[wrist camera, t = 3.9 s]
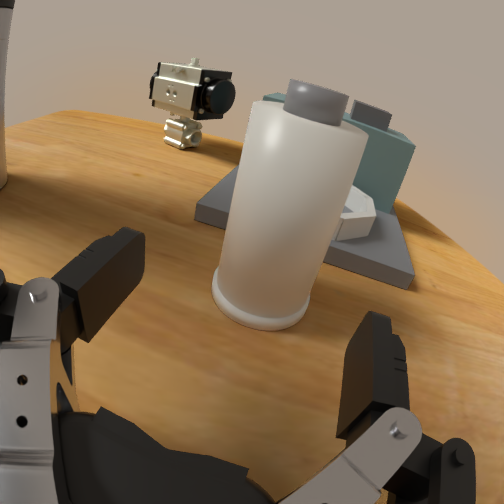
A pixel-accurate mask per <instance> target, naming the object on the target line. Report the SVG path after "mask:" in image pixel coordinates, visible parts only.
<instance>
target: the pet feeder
mask: <svg viewBox="0 0 504 504" xmlns="http://www.w3.org/2000/svg"><path fill="white" fill-rule="evenodd" d="M285 98H286V95H285V94H281V93H274V94H269V95H265V96H264V97H263V101H272V102H279V103H284V102H285ZM391 117H392V114H390V113H389V112H387V111H385V110H382V109H379V108H376V107H374V106H371V105H368V104H365V103H363V102H360V101H357V100H354V103H353V107H352V110H351V113H350V114H348V113H345V112H344V116H343V119H342V121H345V122H347V123H349V124H352V125H354V126H356V127H358V128H360V129H361V130H363V131H364V132H366V133H367V134H368V135H369V137H368V140H367V143H366V146H365V149H364V152H363V155H362V158H361V161H360V164H359V167H358V170H357V173H356V175H355V178H354V181H353V184H352V187H351V189H350V192H349V195H348V198H347V200H346V203H345V206H344V208H343V211H342V214H341V216H340V219H339V222H338V224H337V227H336V229H335V232H334V235H333V237H332V240H331V242H330V245H329V247H328V250H327V252H326V255H325V257H324V260H323V262H325V263H328V264H331V265H334V266H337V267H340V268H343V269H346V270H349V271H352V272H355V273H358V274H361V275H364V276H367V277H370V278H373V279H376V280H379V281H382V282H385V283H388V284H391V285H394V286H396V287H399V288H402V289H405V290H407V288H408V287H409V285H410V283H411V282H412V280H413V278H414V276H415V274H414V270H413V267H412V263H411V260H410V256H409V253H408V250H407V246H406V243H405V240H404V237H403V234H402V230H401V227H400V224H399V221H398V218H397V216H396V213H395V210H394V207H393V203H394V201H395V199H396V196H397V194H398V191H399V189H400V186H401V183H402V181H403V179H404V176H405V174H406V171H407V169H408V166H409V163H410V161H411V158H412V155H413V153H414V149H415V147H416V146H415V145H414V144H413V143H412V142H411V141H410V140H409V139H408V138H407V137H406V136H405V135H403V134H402V133H400V132H397V131H395V130H392V129H390V128H388V126H389V123H390V120H391ZM248 122H249V121H248ZM247 127H248V126H247ZM238 168H239V165H238V166H237V167H235V168H234V169H233V170H232V171H231V172H230V173H229V174H228V175H227V176H225V177H224V178H223V179H222V180H221V181H220V182H219V183H218V184H217V185H216V186H214V187H213V188H212V189H211V190H210V191H209V192H208V193H207V194H206V195H205V196H204V197H203V198H201V199H200V200H199V201H198V202H197V204H196V211H195V218H194V220H197V221H200V222H203V223H206V224H209V225H213V226H216V227H219V228H222V229H225V230H226V227H227V222H228V217H229V212H230V207H231V202H232V197H233V192H234V187H235V182H236V178H237V173H238Z"/></svg>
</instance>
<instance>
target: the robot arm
mask: <svg viewBox="0 0 504 504" xmlns="http://www.w3.org/2000/svg"><path fill="white" fill-rule="evenodd" d="M14 3H15V0H0V189H1V188H2V187H3V186H4V185H5V184H6V182H7V177H8V176H7V166H6V152H5V127H4V96H5V73H6V60H7V49H8V41H9V40H8V39H9V33H10V26H11V20H12V13H13V8H14ZM144 265H145V235H144V233H142V232H139V231H136V230H133V229H130V228H128V227H123V228H121V229H120V230H119V231H118V232H116V233H115V234H114V235H113V236H109V235H108V236H106V237H103V238H101V239H98V240H96V241H94V242H93V243H92V244H91V245H89V246H88V247H87V248H86V250H83V251H82V252H81V253H80V254H79V256H76V257H75V258H74V259H73V260H72V261H70V262H69V263H68V264H67V265H66V266H65V267H63V268H62V269H61V270H60V271H59V272H58V273H57V274H55V275H54V276H53V277H52V278H51V279H49V278H44V277H40V278H35V279H32V280H30V281H28V282H26V283H25V284H24V285H23V286H22V285H18V284H13V283H8V282H6V279H5V276H4V273H3V271H2V270H1V269H0V504H374V503H375V502H376V501H377V500H378V499H379V497H380V496H381V491H380V490H381V488H383V489H385V490H387V491H389V492H388V499H387V504H475V501H476V471H475V455H474V452H473V450H472V448H471V446H470V445H469V444H468V443H467V442H466V441H464V440H463V439H460V438H452V439H450V440H448V441H447V442H445V443H444V444H442V443H440V442H438V441H436V440H434V439H432V438H430V437H428V436H426V435H425V434H423V433H422V428H421V425H420V422H419V420H418V419H417V417H416V416H415V415H414V414H413V413H412V412H410V405H409V388H408V374H407V363H406V353H405V347H404V345H403V343H402V341H401V339H400V337H399V335H395V334H392V326H391V319H390V317H388V316H385V315H382V314H379V313H376V312H373V311H368V312H367V314H366V315H365V317H364V318H363V320H362V322H361V323H360V325H359V327H358V328H357V330H356V332H355V333H354V335H353V337H352V338H351V340H350V342H349V344H348V346H347V349H346V352H345V358H344V369H343V380H342V390H341V399H340V408H339V416H338V424H337V432H336V438H339V439H344V440H346V448H345V449H344V450H343V451H341V452H340V453H339V454H338V455H337V456H336V457H334V458H333V459H332V460H331V461H330V462H329V463H327V464H326V465H325V466H324V467H322V468H321V469H320V470H319V471H318V472H316V473H315V474H314V475H313V476H311V477H310V478H309V479H307V480H306V481H305V482H303V483H302V484H301V485H299V486H298V487H297V488H295V489H294V490H292V491H291V492H290V493H288V494H287V495H285V496H284V497H283V498H281V499H280V500H278V501H277V502H274V500H273V499H272V498H271V496H270V495H269V494H268V493H267V492H266V491H265V490H264V489H263V488H262V487H261V486H259V485H258V484H257V483H255V482H254V481H253V480H251V479H249V478H248V477H246V476H247V473H248V470H249V468H246V467H242V466H239V465H236V464H233V463H230V462H227V461H224V460H221V459H218V458H215V457H212V456H208V455H200V454H193V453H187V452H180V451H175V450H170V449H167V448H165V447H163V446H162V445H161V444H159V443H158V442H157V441H155V440H154V439H153V438H151V437H150V436H149V435H148V434H146V433H145V432H144V431H143V430H141V429H140V428H139V427H138V426H136V425H135V424H134V423H132V422H130V421H128V420H126V419H124V418H122V417H120V416H118V415H116V414H114V413H112V412H111V411H109V410H107V409H105V408H103V407H100V409H99V410H98V412H97V413H96V414H94V413H88V412H81V411H80V406H79V402H78V399H77V394H76V383H75V366H74V345H73V342H74V341H75V340H76V339H77V338H80V339H82V340H83V341H85V342H87V343H89V342H90V341H91V339H92V338H93V337H94V336H95V335H96V333H97V332H98V331H99V330H100V328H101V327H102V326H103V325H104V324H105V322H106V321H107V320H108V319H109V318H110V317H111V315H112V314H113V313H114V312H115V311H116V309H117V308H118V307H119V306H120V305H121V304H122V302H123V301H124V300H125V299H126V298H127V297H128V295H129V294H130V293H131V292H132V291H133V290H134V289H135V287H136V286H137V285H138V284H139V282H140V281H141V279H142V276H143V273H144Z"/></svg>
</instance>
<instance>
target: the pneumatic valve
mask: <svg viewBox="0 0 504 504" xmlns="http://www.w3.org/2000/svg"><path fill="white" fill-rule="evenodd" d="M198 63H199V59H198V58H192V60H191V64H182V63H164V62H162V63H161V62H159V63H158V68H157V71H156V72H155V73H154V75H153V76H152V78H151V81H150V96H149V99H153V100H152V106H154V107H157V108H160V109H163V110H166V111H170V115H174V114H176V115H179V116H180V119H175V120H173V119H168V120H167V121H166V123H167V124H166V125H165V128H164V132H165V134H166V137H165V138H164V142H165V143H167V144H169V145H172V146H174V147H176V148H179V149H184V148H185V147H191V146H193V147H197V146H199V143H200V141H201V139H202V133H201V131H200V129H201V128H202V125H201V123H199V122H196V121H193V120H191V119H194V120H208V119H222V118H223V114H224V113H226V112H227V111H228V110H229V109H230V108H231V106H232V104H233V102H234V99H235V87H234V85H233V84H232V82H231V81H232V80H231V76H232V72H228V71H222V70H218V69H213V68H207V67H202V66H200V65H198ZM190 118H191V119H190Z"/></svg>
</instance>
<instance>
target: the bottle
mask: <svg viewBox="0 0 504 504" xmlns="http://www.w3.org/2000/svg"><path fill="white" fill-rule="evenodd" d="M348 98H349V96H347V95H345V94H343V93H340V92H337V91H334V90H331V89H328V88H324V87H321V86H317V85H314V84H310V83H307V82H303V81H298V80H293V79H290V82H289V86H288V90H287V94H286V98H285V102H284V103H279V102H272V101H255V102H253V105H252V109H251V113H250V118H249V122H248V127H247V131H246V136H245V141H244V145H243V150H242V154H241V159H240V164H239V168H238V173H237V178H236V182H235V187H234V192H233V197H232V202H231V207H230V212H229V217H228V222H227V227H226V232H225V237H224V242H223V247H222V252H221V257H220V262H219V266H218V267H217V268H216V270H215V272H214V276H213V281H212V289H211V291H212V296H213V299H214V301H215V303H216V305H217V306H218V308H219V309H220V310H221V311H222V312H223V313H224V314H225V315H226V316H228V317H229V318H230V319H232V320H233V321H235V322H237V323H239V324H241V325H243V326H246V327H249V328H253V329H257V330H264V331H276V330H282V329H286V328H289V327H291V326H293V325H295V324H296V323H297V322H299V321H300V320H301V318H302V317H303V315H304V314H305V311H306V309H307V307H308V305H309V301H310V291H311V289H312V287H313V284H314V282H315V279H316V277H317V275H318V272H319V270H320V267H321V265H322V262H323V260H324V257H325V255H326V252H327V250H328V247H329V245H330V242H331V240H332V237H333V235H334V232H335V229H336V227H337V224H338V222H339V219H340V216H341V214H342V211H343V208H344V206H345V203H346V200H347V198H348V195H349V192H350V189H351V187H352V184H353V181H354V178H355V175H356V173H357V170H358V167H359V164H360V161H361V158H362V155H363V152H364V149H365V146H366V143H367V140H368V137H369V135H368V134H367V133H366V132H364V131H363V130H361V129H360V128H358V127H356V126H354V125H352V124H349V123H347V122H345V121H342V119H343V116H344V112H345V109H346V105H347V102H348Z"/></svg>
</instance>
